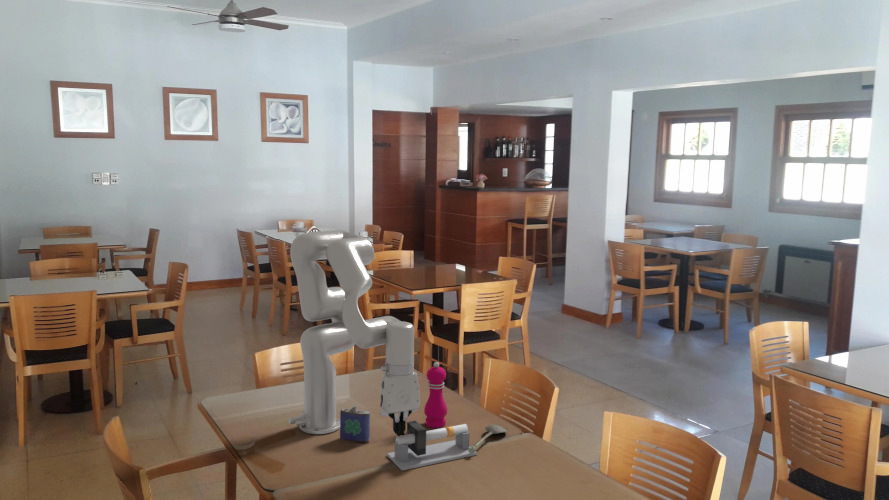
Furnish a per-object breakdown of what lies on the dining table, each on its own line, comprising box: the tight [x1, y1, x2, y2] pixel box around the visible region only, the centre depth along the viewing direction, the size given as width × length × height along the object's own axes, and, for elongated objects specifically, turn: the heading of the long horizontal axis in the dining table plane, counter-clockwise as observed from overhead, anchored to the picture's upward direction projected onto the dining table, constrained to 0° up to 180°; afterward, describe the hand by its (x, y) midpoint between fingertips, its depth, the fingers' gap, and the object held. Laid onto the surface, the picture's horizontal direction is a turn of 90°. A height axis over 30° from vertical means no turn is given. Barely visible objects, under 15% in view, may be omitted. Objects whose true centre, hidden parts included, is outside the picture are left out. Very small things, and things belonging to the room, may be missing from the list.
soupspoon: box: [468, 424, 508, 453], centre depth 197 cm, size 22×3×7 cm
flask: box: [339, 404, 371, 444], centre depth 197 cm, size 9×3×11 cm, turn 74°
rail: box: [386, 423, 478, 471], centre depth 187 cm, size 23×10×7 cm, turn 117°
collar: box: [406, 420, 427, 456], centre depth 185 cm, size 2×7×7 cm, turn 27°
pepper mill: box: [423, 361, 448, 429], centre depth 209 cm, size 7×7×20 cm
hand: (399, 433), depth 182 cm, fingers closed
